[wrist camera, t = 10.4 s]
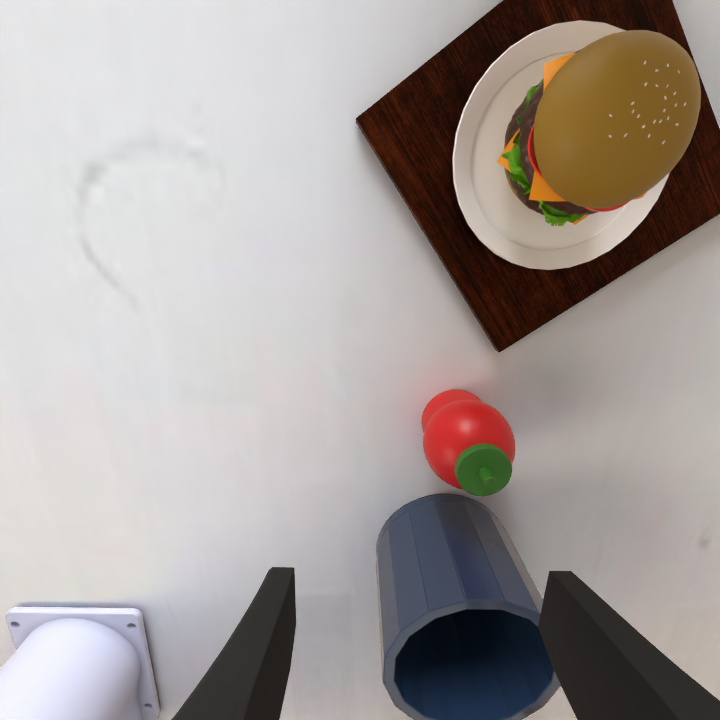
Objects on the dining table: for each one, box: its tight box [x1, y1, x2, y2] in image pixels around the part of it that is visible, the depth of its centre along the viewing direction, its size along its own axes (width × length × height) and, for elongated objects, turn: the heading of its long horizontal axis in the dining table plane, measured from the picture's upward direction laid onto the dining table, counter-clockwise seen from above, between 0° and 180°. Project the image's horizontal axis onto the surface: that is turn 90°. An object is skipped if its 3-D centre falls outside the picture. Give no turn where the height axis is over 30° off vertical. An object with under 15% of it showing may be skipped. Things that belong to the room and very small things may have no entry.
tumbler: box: [376, 494, 561, 720], centre depth 18 cm, size 8×8×6 cm
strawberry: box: [422, 390, 515, 496], centre depth 16 cm, size 4×4×6 cm
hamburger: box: [356, 0, 720, 352], centre depth 13 cm, size 12×12×6 cm
